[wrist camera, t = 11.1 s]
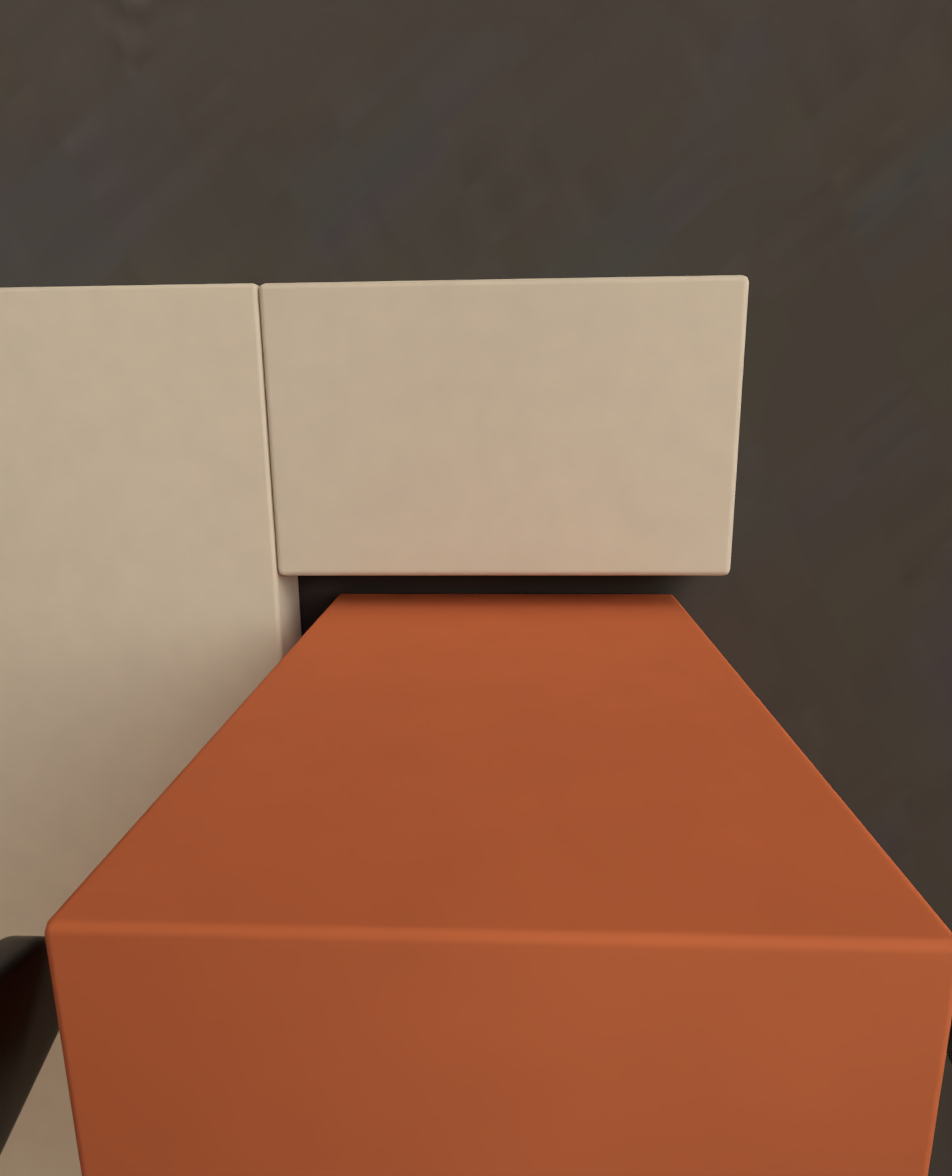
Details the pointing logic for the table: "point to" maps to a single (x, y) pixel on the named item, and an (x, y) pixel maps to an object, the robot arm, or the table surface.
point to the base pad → (304, 509)
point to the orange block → (501, 922)
